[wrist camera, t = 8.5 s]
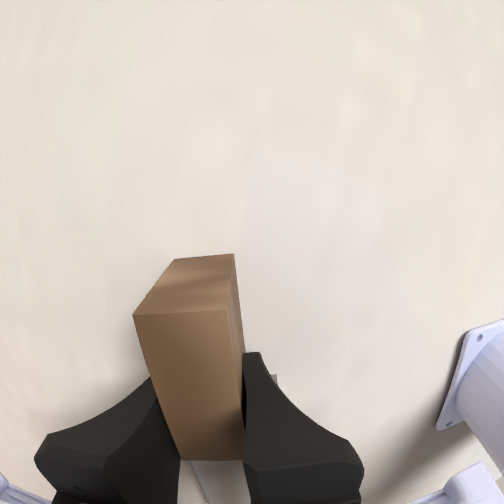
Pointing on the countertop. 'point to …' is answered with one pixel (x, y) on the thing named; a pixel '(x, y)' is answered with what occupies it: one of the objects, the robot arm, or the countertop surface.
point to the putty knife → (200, 369)
